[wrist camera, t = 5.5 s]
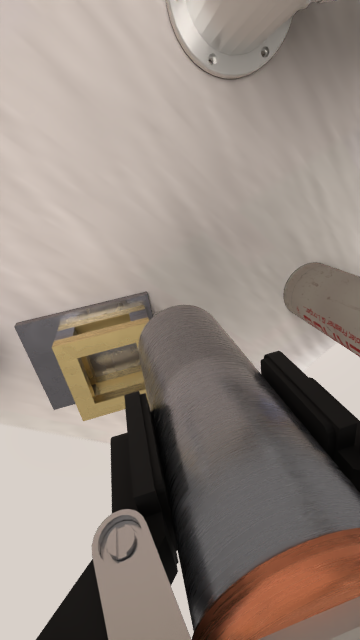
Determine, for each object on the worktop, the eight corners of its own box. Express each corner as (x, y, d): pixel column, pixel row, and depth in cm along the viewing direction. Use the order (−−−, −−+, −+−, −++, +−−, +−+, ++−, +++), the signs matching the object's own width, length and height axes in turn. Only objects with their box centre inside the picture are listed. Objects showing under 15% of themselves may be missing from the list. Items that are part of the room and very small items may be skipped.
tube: (217, 293, 15) (820, 858, 2) (226, 368, 17) (571, 882, 4) (126, 316, 14) (275, 1256, 2) (147, 391, 16) (283, 1065, 4)
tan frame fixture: (146, 291, 37) (153, 310, 31) (165, 373, 43) (175, 402, 37) (16, 323, 35) (-1, 349, 29) (55, 405, 41) (46, 440, 35)
